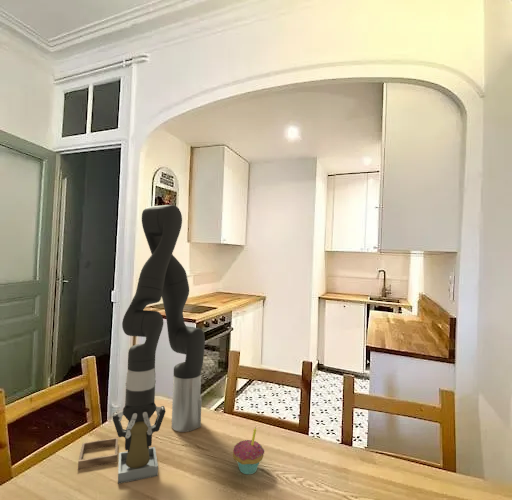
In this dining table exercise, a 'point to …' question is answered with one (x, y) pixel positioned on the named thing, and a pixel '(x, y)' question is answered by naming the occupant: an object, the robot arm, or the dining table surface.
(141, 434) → the olive pawn
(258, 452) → the cupcake
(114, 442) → the walnut frame
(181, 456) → the dining table surface
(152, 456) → the grey tray
